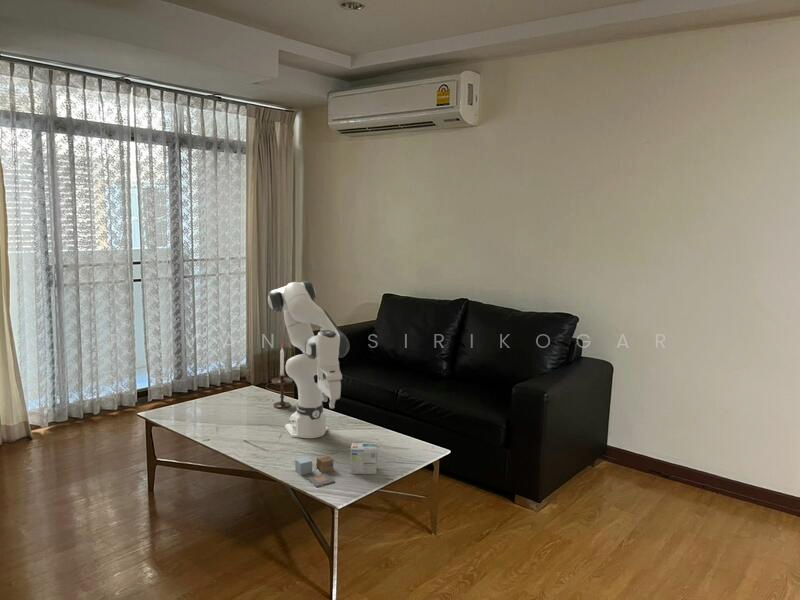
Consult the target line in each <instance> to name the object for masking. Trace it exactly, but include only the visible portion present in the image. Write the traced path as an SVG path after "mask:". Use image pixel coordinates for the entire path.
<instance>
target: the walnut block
mask: <svg viewBox="0 0 800 600" xmlns="http://www.w3.org/2000/svg"><path fill="white" fill-rule="evenodd" d="M317 469H318V470H319V471H318V470H317ZM316 470H317V471H318V472H319V473H321V474H322V473H323V474H324V473H326V472H327V473H331V472H333V471H334V458H333V457H331V456H330V455H328V454H326V455H322V456H317V457H316ZM327 473H326V474H327Z"/></svg>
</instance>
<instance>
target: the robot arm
mask: <svg viewBox="0 0 800 600" xmlns="http://www.w3.org/2000/svg"><path fill="white" fill-rule="evenodd" d="M316 293H317V292H316V289H315V287H314V285H313V284H312V282H311V281H307V280H305V281H304V280H303V281H301V282H297V281H292V282H289V283H288V284H287V285H285V286H282V287H278V288H274V289H271V290H270V291H269V293H268V295H267V303H268V305H269V307H270V309H271V310H272V311H273V312H275V313H278V312H282V311H283V317H284V318H283V319H284V323H285V327H286V330H287V334H288V337H289V341H290V342H291V345H292V346H293V347H296V348H297V349H299V350H300V351H301V352H302V353H301V354H297V355H294V356H291V357H290V358H288V359H287V360H286V363H285V366H284V369H285V372H286V374H287V376H288V378H291V379H292V381H294V383H295V385H296V387H297V395H298V397H297V398H298V402H297V403H296V410H295V412H293V413H292V414H291V415H290V416H289V419H288V423H286V424H285V425H284V428H285V429H286V431H287V432H288V433H289V435H290V437H292V438H302V439H315V438H320V437H322V436H324V435H326V432H327V431H329V427H328V426H327V424H326V421H327V420H326V413H324V404H323V402H324V403H326V402H328V398H329V402H328V405H329V408H330V409H331V410H332V409H335V404H336V401H337V400H340V398H341V392H342V391H341V390H342V382H341V380H343V374H342V372H341V370H340V369H341V368H340V361H339V359H340V358H344V357H345V356H346V355H347V354H348V352H349V350H350V346H351V345H350V341H349V338H348V337H347V336H346V335H345V334H344V333H343V332H342V331H341V330H340V328H339V327H338V326H337V324H336V322H334V320H333V319H332V318H331V316H330V315H329V314H328V312H327V311H326V310H325V309H323V308H322V307H320V306H318V304H316V303H315V302H314V301H315V300H316V295H317V294H316ZM312 325H315V326H318V327H320V328H322V330H321V331H318V333H317V335H315V334H314V331H313V327H312ZM315 376H317V382H315Z"/></svg>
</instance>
